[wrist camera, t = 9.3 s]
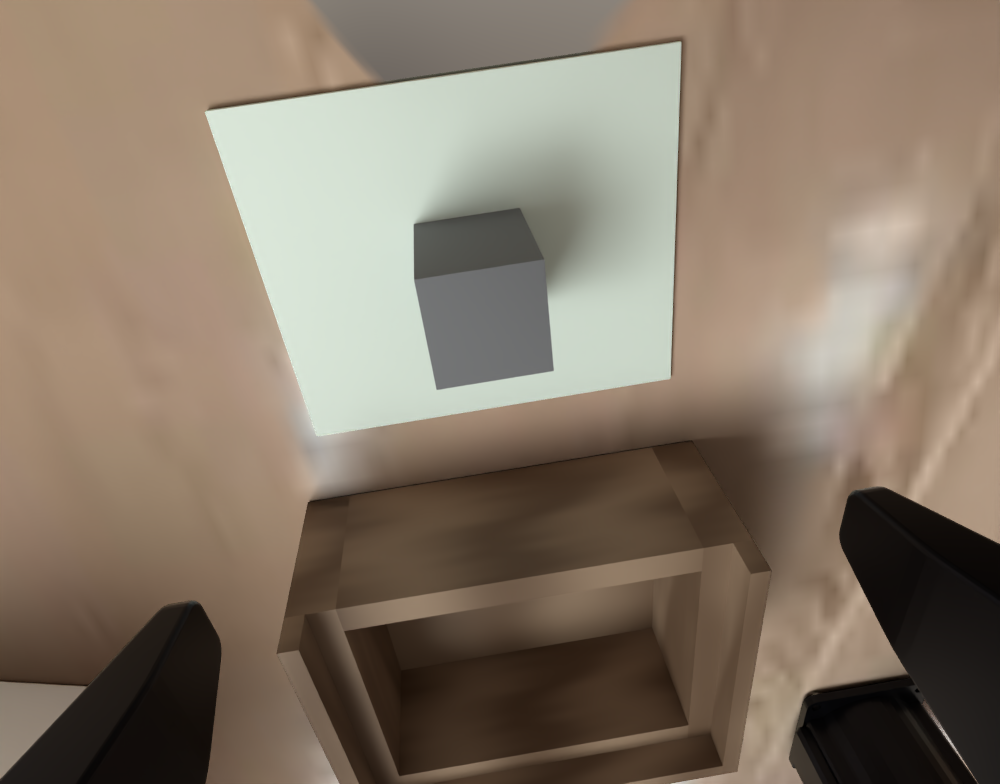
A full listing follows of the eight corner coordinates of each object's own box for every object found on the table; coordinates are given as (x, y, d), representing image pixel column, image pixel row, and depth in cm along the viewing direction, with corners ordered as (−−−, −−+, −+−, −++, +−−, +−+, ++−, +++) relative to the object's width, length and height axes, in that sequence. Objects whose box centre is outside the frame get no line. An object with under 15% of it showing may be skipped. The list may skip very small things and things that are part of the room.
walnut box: (691, 440, 23) (771, 570, 18) (679, 632, 29) (737, 771, 24) (308, 502, 23) (276, 654, 18) (374, 684, 29) (366, 837, 24)
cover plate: (670, 39, 17) (752, 56, 13) (662, 366, 22) (717, 451, 18) (212, 106, 16) (149, 146, 12) (319, 422, 22) (298, 521, 18)
